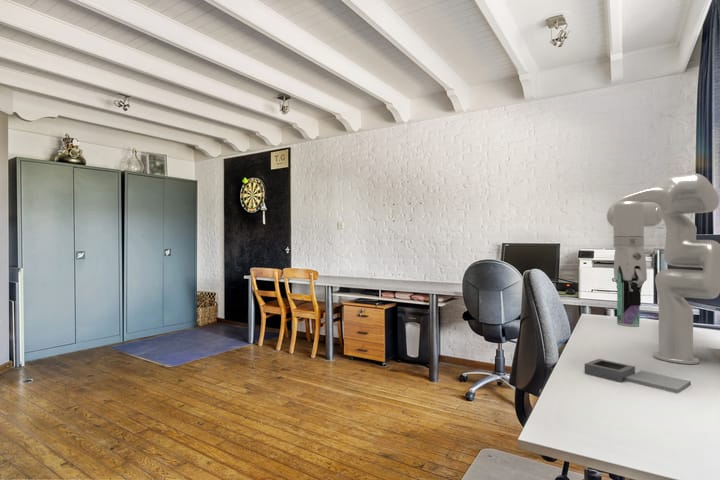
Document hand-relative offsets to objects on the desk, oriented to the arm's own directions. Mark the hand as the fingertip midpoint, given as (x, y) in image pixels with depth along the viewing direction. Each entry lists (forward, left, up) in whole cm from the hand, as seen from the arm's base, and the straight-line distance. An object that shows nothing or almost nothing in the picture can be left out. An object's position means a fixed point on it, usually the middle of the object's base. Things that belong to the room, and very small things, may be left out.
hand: (628, 303), depth 117 cm
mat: (-2, +7, -22) cm, 23 cm away
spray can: (0, 0, -7) cm, 7 cm away
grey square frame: (+2, -4, -22) cm, 23 cm away
